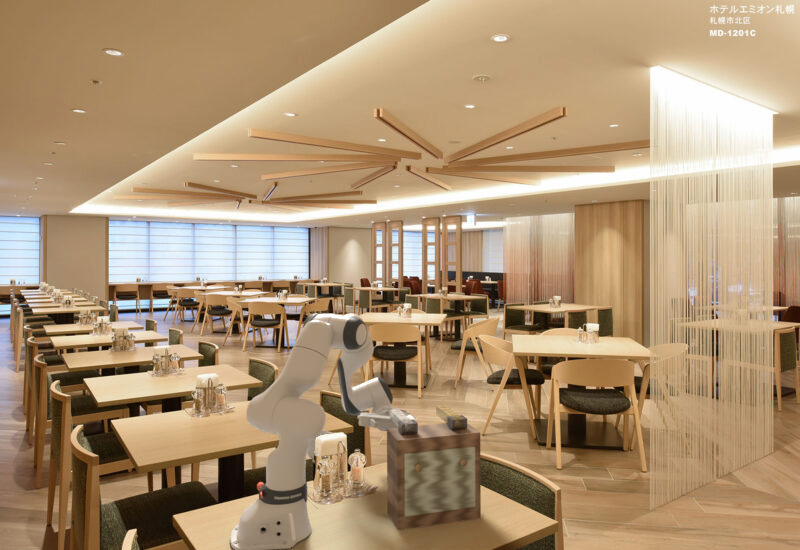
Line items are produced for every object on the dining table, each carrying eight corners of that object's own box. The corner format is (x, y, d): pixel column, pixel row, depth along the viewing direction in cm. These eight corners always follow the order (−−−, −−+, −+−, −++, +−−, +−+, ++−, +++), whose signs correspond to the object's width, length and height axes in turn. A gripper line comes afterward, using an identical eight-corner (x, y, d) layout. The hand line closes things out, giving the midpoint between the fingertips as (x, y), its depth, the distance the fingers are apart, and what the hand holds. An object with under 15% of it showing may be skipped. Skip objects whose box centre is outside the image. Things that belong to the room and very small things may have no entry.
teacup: (300, 454, 216) (300, 430, 216) (337, 455, 215) (336, 430, 215) (293, 466, 204) (292, 440, 204) (331, 466, 203) (331, 440, 203)
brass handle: (452, 429, 162) (452, 420, 162) (433, 415, 178) (433, 406, 178) (467, 428, 163) (467, 418, 163) (447, 413, 179) (447, 405, 179)
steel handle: (401, 434, 157) (401, 424, 157) (387, 419, 174) (387, 410, 174) (417, 433, 159) (417, 423, 159) (402, 417, 175) (401, 408, 175)
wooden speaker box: (399, 533, 151) (398, 442, 151) (387, 512, 165) (386, 428, 164) (483, 520, 159) (482, 434, 158) (465, 501, 172) (464, 421, 171)
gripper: (357, 406, 191) (360, 414, 177) (413, 411, 194) (420, 419, 180) (355, 424, 191) (357, 433, 177) (411, 429, 193) (417, 438, 179)
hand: (389, 426), depth 178 cm, fingers open, 8 cm apart
